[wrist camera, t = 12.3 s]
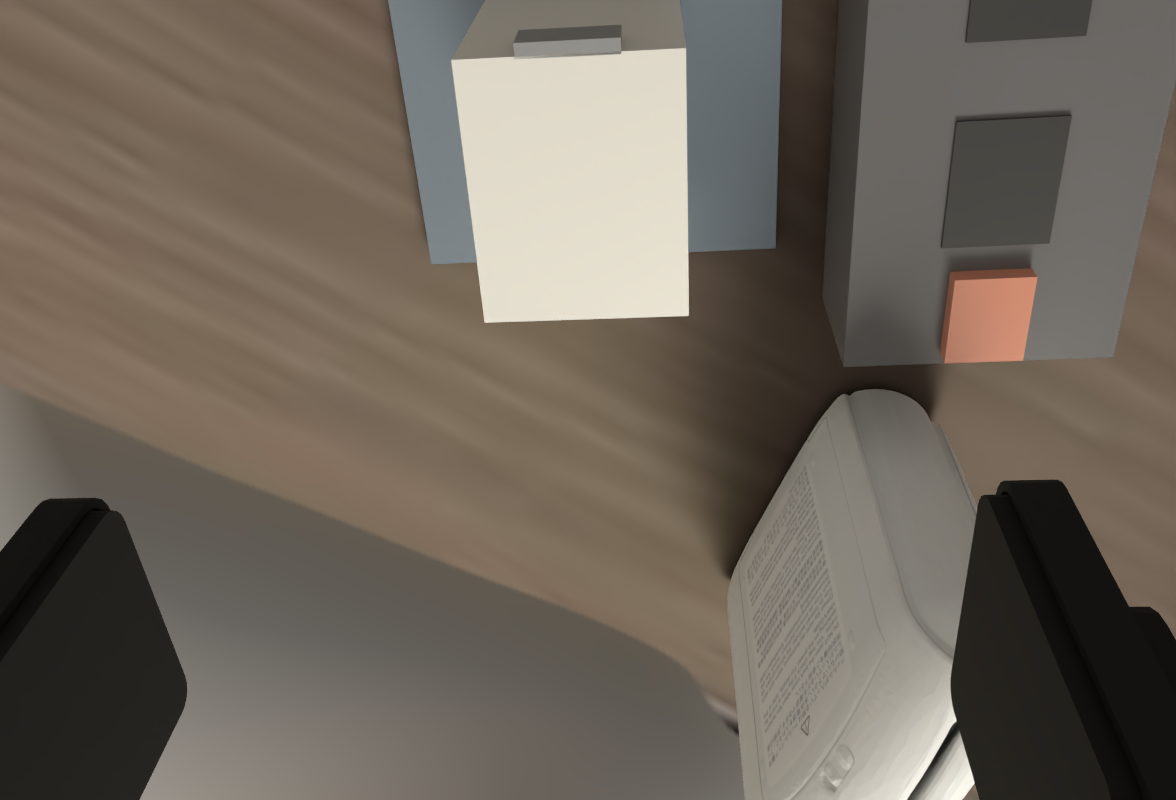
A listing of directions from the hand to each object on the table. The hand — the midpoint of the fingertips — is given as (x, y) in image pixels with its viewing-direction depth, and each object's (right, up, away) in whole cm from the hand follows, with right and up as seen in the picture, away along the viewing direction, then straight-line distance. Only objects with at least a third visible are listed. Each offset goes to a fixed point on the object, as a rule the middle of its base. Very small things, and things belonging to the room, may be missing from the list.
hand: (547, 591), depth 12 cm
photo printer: (+9, -1, +25) cm, 26 cm away
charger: (+1, +10, +16) cm, 19 cm away
